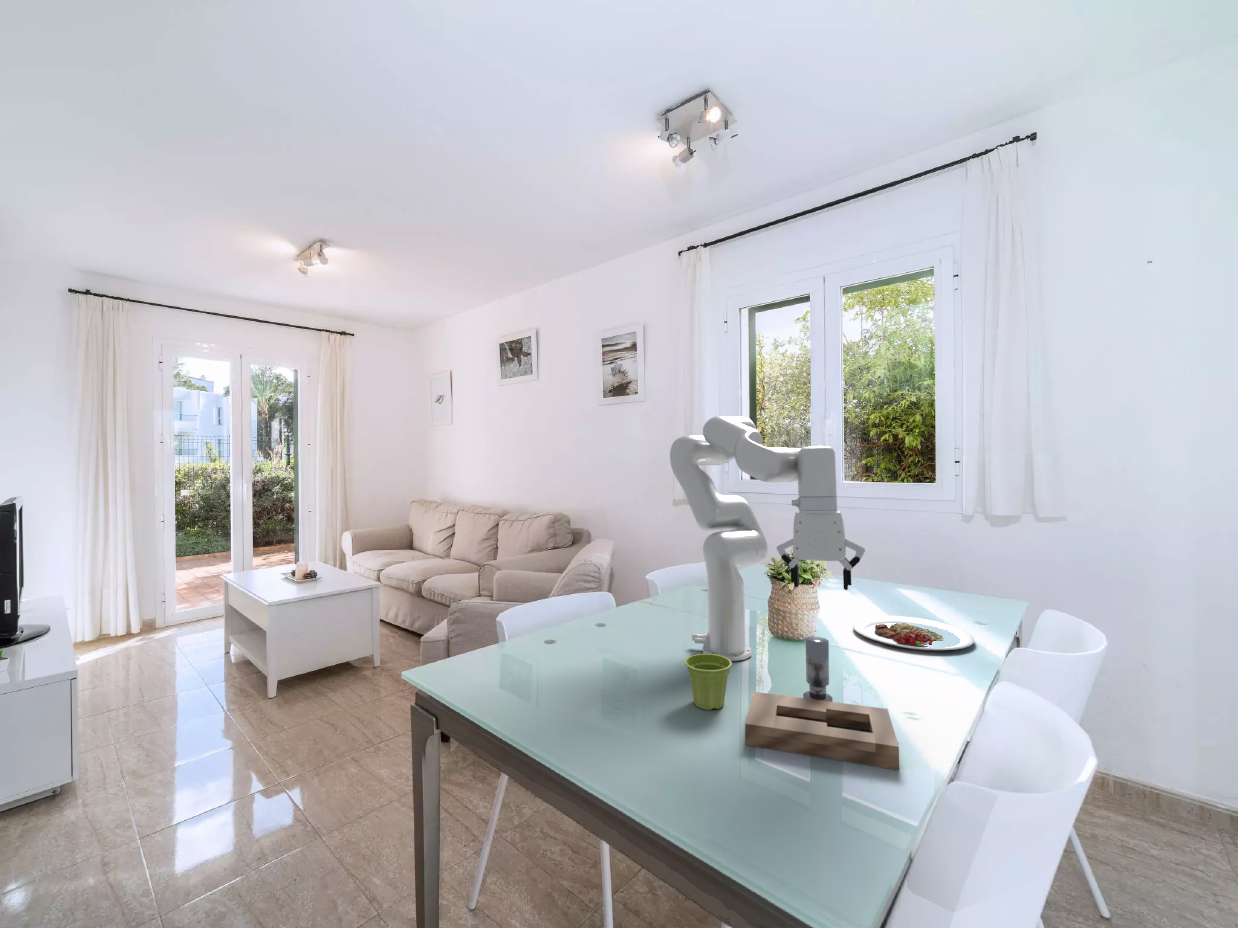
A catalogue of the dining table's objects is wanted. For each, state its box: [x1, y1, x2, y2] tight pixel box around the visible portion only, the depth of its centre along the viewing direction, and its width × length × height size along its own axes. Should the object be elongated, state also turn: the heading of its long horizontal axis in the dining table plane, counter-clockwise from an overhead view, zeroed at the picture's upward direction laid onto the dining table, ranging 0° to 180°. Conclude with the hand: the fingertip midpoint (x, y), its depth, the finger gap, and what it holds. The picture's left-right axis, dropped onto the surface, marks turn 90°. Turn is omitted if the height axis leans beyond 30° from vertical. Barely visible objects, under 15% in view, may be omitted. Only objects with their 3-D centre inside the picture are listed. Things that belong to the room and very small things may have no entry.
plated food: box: [852, 615, 975, 651], centre depth 151 cm, size 30×30×3 cm
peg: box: [802, 636, 834, 702], centre depth 109 cm, size 6×6×13 cm
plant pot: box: [684, 653, 733, 711], centre depth 110 cm, size 9×9×9 cm
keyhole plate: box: [744, 691, 900, 771], centre depth 96 cm, size 24×14×4 cm, turn 70°
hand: (821, 587), depth 112 cm, fingers open, 9 cm apart
